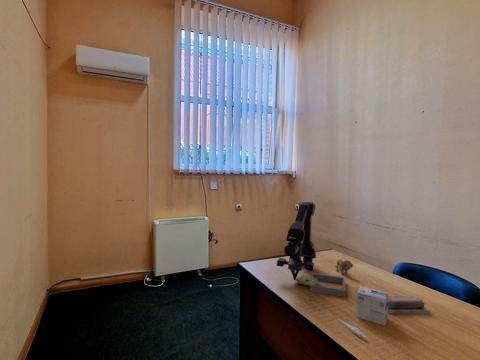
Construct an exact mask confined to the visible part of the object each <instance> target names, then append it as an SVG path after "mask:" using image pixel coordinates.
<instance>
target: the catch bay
mask: <svg viewBox="0 0 480 360" xmlns="http://www.w3.org/2000/svg"><path fill="white" fill-rule="evenodd" d="M312 277H313V278H315V279H317V280H318V281H322V282H329V283H330V282H331V283H336V284H342V288H337V287H336V288H335V287H330V286H329V287H328V286H322V285H318V284H316V285H311V284H310V285H309V286H310V288H309V292H312V293H317V294H323V295H324V294H325V295H330V296H331V295H332V296H338V297H344V298H345V297H346V279H345V277H344V276H336V275H331V274H330V275H327V274H322V273H315V272H313V273H312Z"/></svg>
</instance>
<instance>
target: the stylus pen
mask: <svg viewBox="0 0 480 360" xmlns="http://www.w3.org/2000/svg"><path fill="white" fill-rule="evenodd" d="M336 320H337V321H338V322H340V323H341V324H342V325H343V326H344V327H345V328H346V329H348V330H349V331H350V332H351V333H352V334H353V335H355V336H357V337H359V338H361V339H362V340H363V341H366V339H367V338H368V337H367V335H366V334H364V333H363V332H362V331H361V330H360V328H358V327H356V326H354V325H351V324H350V323H347V322H345V321H344V320H342V319H339V318H336Z"/></svg>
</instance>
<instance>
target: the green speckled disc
mask: <svg viewBox="0 0 480 360" xmlns="http://www.w3.org/2000/svg"><path fill="white" fill-rule="evenodd" d="M295 281H296V282H297V283H298V284H300V285H303V286H310V284H311V285H319V280H317V279H315V278H313V276H307V275H303V276H301V275H300V276H297V277H296V280H295Z"/></svg>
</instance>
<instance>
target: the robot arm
mask: <svg viewBox="0 0 480 360" xmlns="http://www.w3.org/2000/svg"><path fill="white" fill-rule="evenodd" d="M315 211H316V204H315V203H314V202H311V201H302V202H300V203H299V204H298V210H297V214H296V217H295V220H294V222H293V223H291V225H290V227H289V228H288V230H287V236H286V239H285V241H286V242H288V243H287V244H286V246H285V247H284V250H283V251H284V253H285V255H286V256H287V257H289V258H288V260H287V258H284V257H279V258H278V259H277V261H276V266H277V267H280V268H281V267H284V266H286V265H287V270H289V271H290V273H291V275H292V277H293V281H296V279H297V278H298V274H299V272H302V270H303V268H304V269H305V270H306V271H308V272H309V271H310V272H314V268H315V263H314V262H313V259H316V258H317V253H316V250H315V245H314V242H313V241H312V216H313V215H314V213H315Z"/></svg>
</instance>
